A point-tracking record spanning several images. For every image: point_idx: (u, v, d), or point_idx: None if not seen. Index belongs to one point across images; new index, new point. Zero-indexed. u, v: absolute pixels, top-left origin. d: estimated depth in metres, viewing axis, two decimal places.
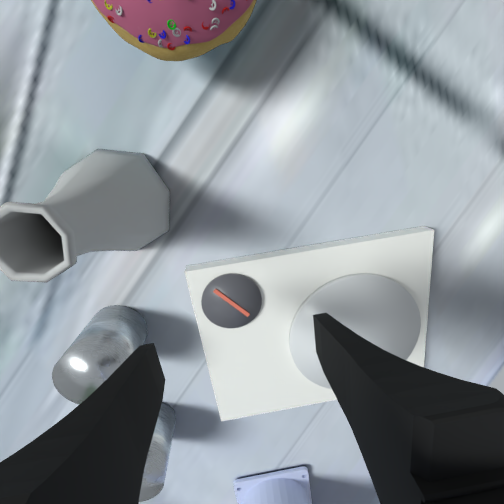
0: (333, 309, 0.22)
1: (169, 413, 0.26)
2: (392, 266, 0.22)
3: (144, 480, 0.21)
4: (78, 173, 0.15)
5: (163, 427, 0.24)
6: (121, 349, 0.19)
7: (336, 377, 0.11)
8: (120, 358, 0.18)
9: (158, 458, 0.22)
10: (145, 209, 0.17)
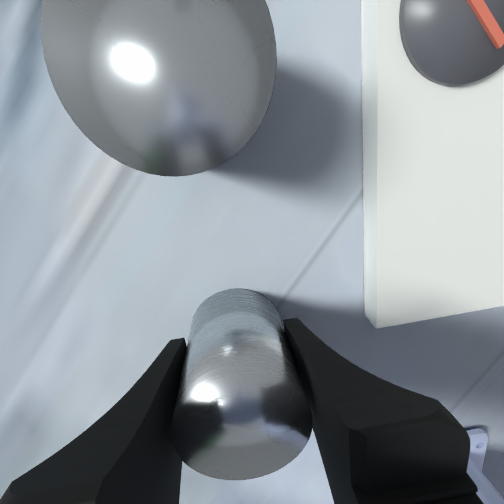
0: None
1: (276, 313, 0.13)
2: None
3: (269, 426, 0.09)
4: None
5: (278, 328, 0.12)
6: None
7: (302, 383, 0.11)
8: None
9: (295, 376, 0.09)
10: None
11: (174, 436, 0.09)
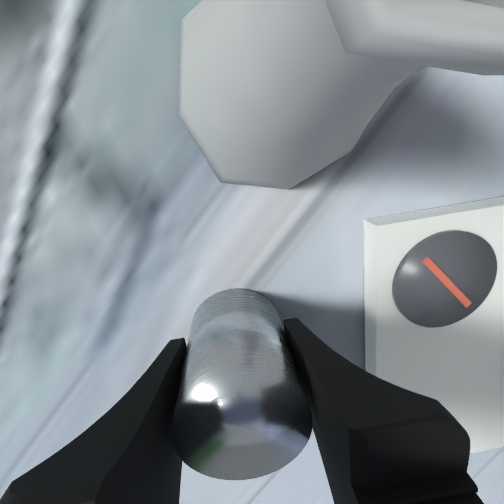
0: None
1: None
2: None
3: None
4: None
5: None
6: (293, 368, 0.10)
7: (302, 383, 0.11)
8: (301, 387, 0.09)
9: None
10: None
11: None
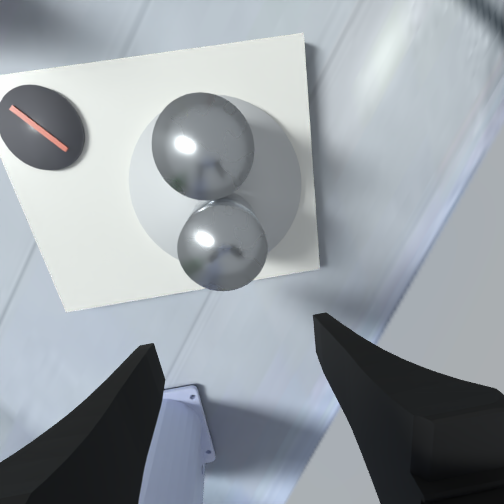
0: None
1: None
2: (255, 88, 0.17)
3: (223, 151, 0.12)
4: None
5: None
6: (252, 213, 0.15)
7: (336, 377, 0.11)
8: (256, 219, 0.14)
9: None
10: None
11: (154, 133, 0.12)
